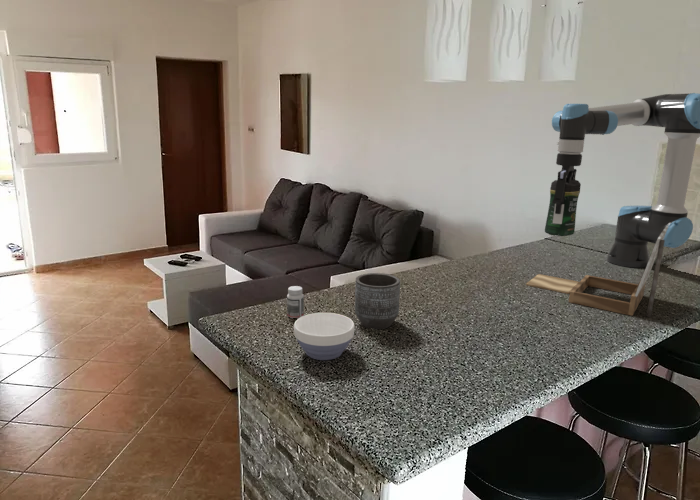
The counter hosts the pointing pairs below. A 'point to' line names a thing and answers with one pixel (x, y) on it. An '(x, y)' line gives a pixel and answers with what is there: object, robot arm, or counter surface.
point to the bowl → (324, 334)
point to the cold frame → (621, 287)
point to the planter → (377, 299)
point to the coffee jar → (569, 210)
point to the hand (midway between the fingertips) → (561, 221)
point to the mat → (552, 283)
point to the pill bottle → (295, 302)
